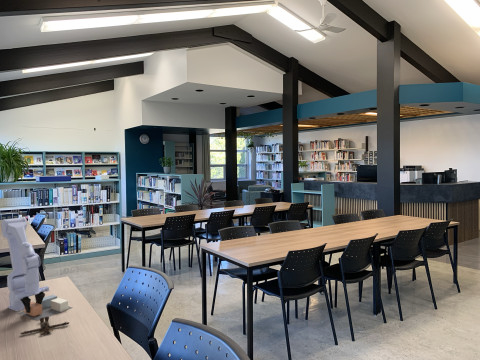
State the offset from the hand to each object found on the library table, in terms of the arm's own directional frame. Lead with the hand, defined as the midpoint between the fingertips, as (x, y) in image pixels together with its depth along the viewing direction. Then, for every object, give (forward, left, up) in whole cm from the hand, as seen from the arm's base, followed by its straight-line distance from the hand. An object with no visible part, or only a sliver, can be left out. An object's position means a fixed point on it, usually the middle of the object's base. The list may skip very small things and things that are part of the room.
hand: (33, 310), depth 168 cm
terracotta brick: (0, 0, -1) cm, 1 cm away
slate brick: (-4, +9, -2) cm, 10 cm away
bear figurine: (+19, -5, -3) cm, 20 cm away
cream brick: (+5, +10, -2) cm, 11 cm away
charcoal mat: (+1, +5, -2) cm, 6 cm away
